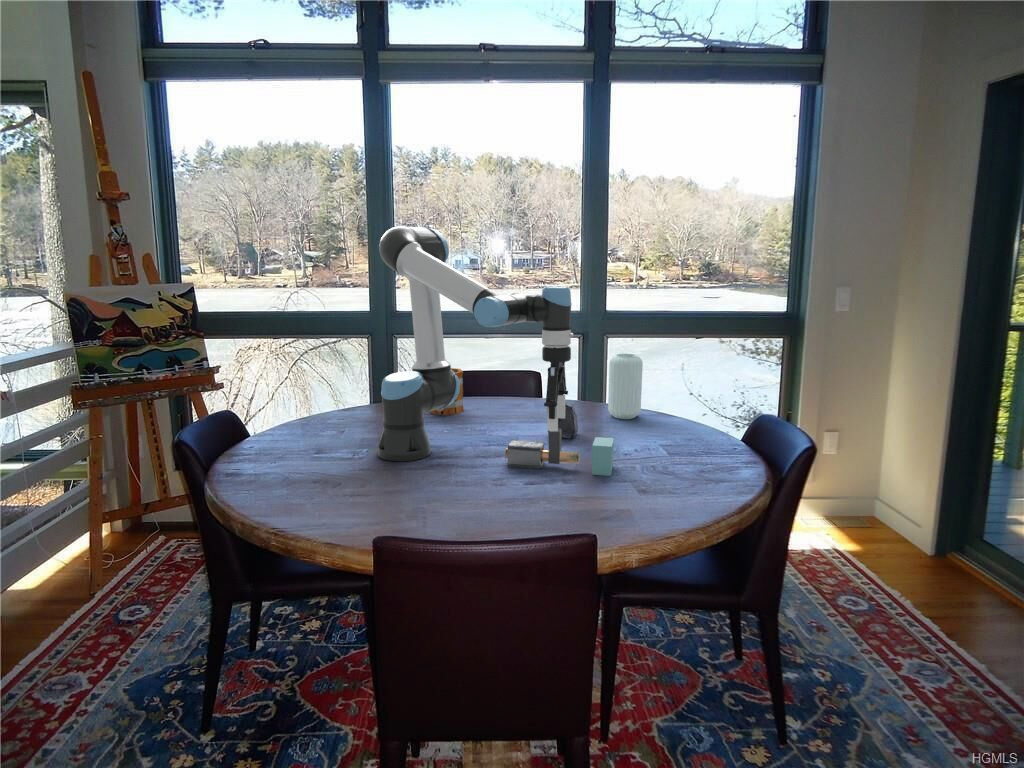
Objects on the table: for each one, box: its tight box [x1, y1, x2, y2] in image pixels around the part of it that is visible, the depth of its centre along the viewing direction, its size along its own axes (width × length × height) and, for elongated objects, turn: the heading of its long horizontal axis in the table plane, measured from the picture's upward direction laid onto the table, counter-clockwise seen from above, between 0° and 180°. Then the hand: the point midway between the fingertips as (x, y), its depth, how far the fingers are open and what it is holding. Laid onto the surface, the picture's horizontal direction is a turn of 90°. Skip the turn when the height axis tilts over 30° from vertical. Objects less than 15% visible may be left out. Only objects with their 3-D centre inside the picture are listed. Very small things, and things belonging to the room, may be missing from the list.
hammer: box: [504, 429, 580, 465], centre depth 178 cm, size 20×3×9 cm, turn 77°
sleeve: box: [507, 439, 545, 470], centre depth 179 cm, size 9×6×6 cm, turn 77°
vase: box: [607, 352, 643, 420], centre depth 231 cm, size 12×12×22 cm
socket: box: [591, 436, 615, 477], centre depth 175 cm, size 5×8×8 cm, turn 167°
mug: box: [429, 367, 465, 416], centre depth 237 cm, size 20×14×15 cm
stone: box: [547, 401, 579, 440], centre depth 209 cm, size 12×10×10 cm
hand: (556, 424), depth 176 cm, fingers open, 13 cm apart
